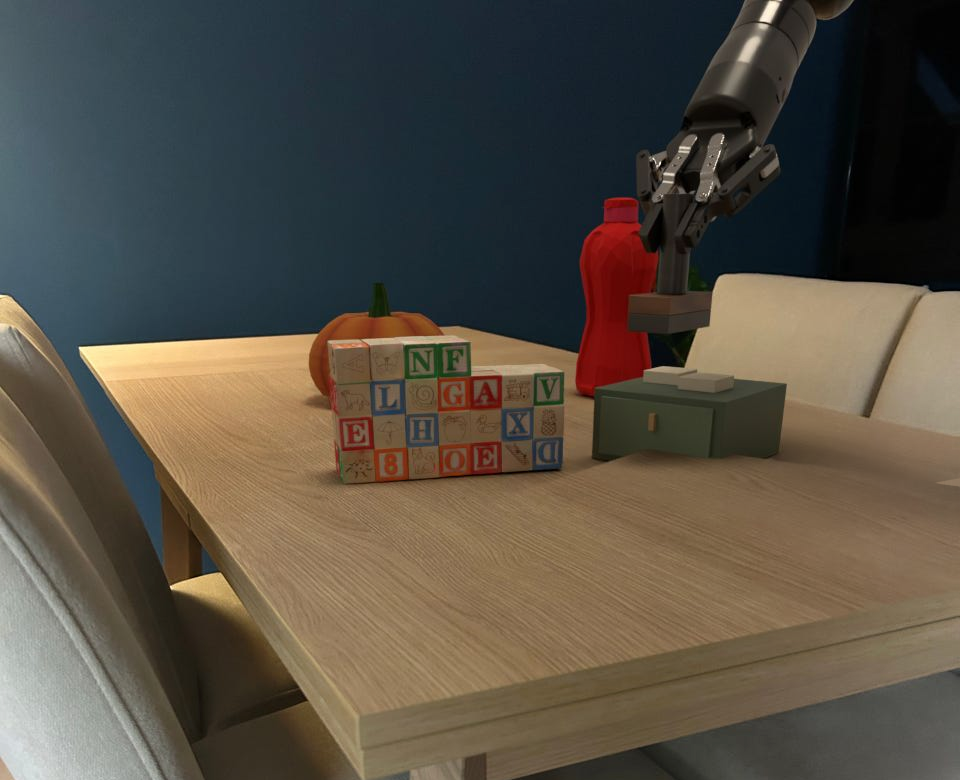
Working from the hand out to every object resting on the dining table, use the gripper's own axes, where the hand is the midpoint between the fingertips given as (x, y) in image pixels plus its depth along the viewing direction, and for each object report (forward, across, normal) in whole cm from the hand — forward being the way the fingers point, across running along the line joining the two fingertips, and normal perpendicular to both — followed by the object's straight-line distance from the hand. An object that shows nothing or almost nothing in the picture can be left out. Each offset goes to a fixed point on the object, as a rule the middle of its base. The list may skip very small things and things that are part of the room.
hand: (664, 245), depth 83 cm
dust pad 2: (+2, 0, +16) cm, 16 cm away
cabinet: (+7, -2, +22) cm, 23 cm away
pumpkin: (+3, -51, +27) cm, 57 cm away
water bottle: (-14, -28, +43) cm, 53 cm away
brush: (+3, 0, +6) cm, 7 cm away
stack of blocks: (+21, -17, +8) cm, 28 cm away
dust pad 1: (+1, -5, +18) cm, 18 cm away
